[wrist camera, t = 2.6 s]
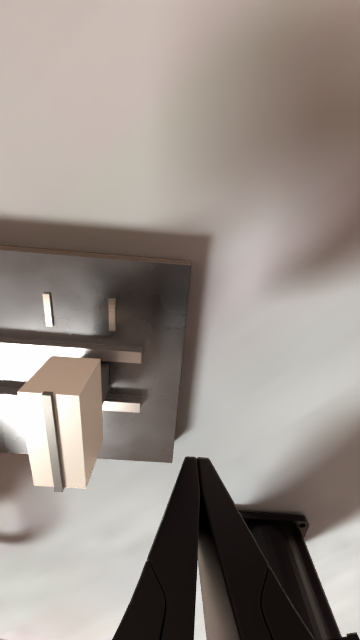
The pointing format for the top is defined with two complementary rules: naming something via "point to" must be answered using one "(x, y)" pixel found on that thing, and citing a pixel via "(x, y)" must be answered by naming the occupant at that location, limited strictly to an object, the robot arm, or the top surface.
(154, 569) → the robot arm
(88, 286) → the console board
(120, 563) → the top surface
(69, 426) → the fader tab
